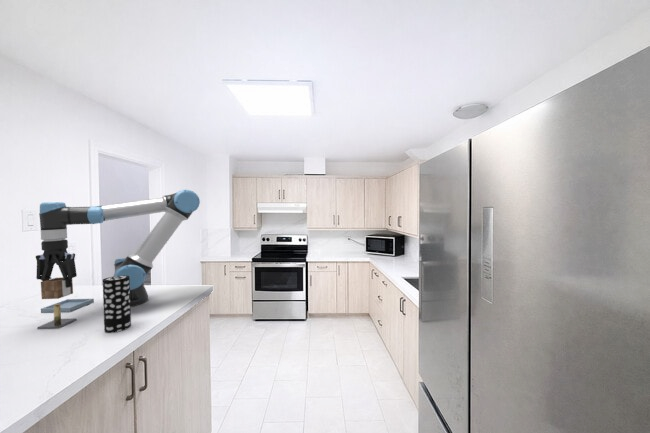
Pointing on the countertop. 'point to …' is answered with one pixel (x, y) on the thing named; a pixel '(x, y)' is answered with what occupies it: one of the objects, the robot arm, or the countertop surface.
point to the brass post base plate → (57, 320)
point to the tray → (68, 305)
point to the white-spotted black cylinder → (116, 303)
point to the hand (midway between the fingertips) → (57, 295)
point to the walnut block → (53, 288)
